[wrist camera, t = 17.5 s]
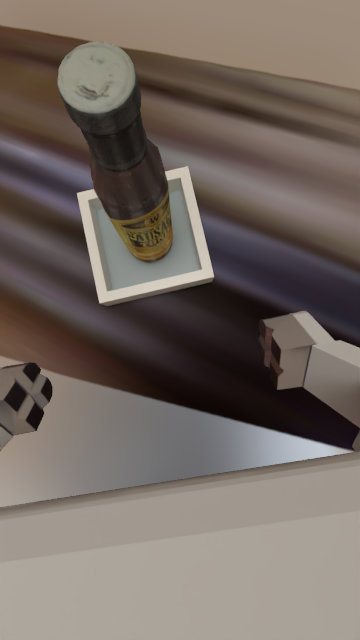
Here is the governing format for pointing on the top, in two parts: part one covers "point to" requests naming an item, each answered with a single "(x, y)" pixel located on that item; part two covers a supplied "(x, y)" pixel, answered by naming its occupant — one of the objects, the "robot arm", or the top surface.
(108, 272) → the tray
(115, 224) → the sauce bottle
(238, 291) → the top surface
